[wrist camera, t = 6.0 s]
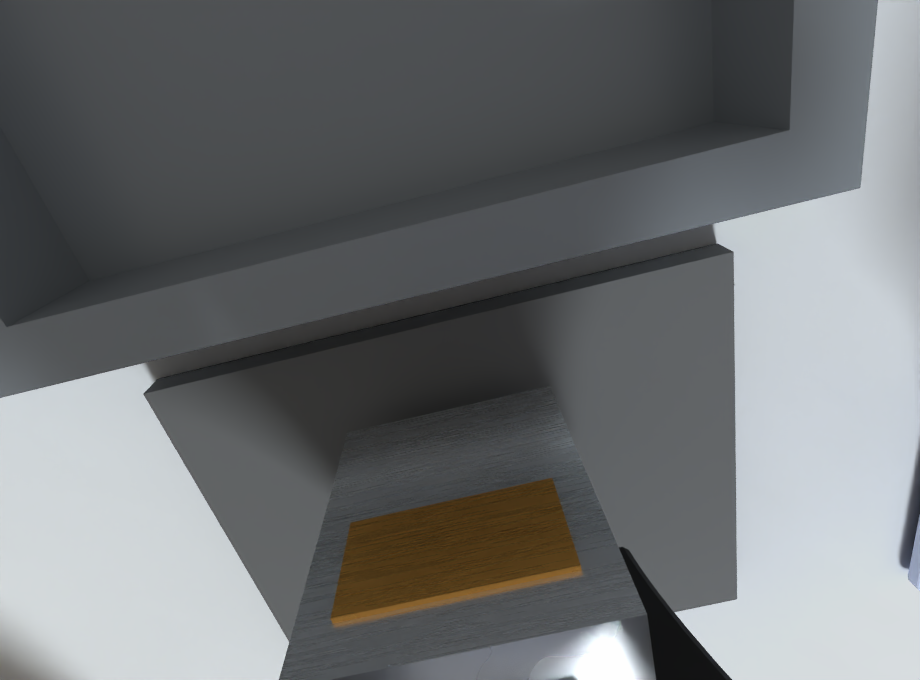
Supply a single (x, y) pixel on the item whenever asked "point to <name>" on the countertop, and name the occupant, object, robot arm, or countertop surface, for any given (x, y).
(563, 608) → the block
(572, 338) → the grey flat panel
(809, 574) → the countertop surface
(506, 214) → the case
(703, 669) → the robot arm
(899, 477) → the countertop surface
